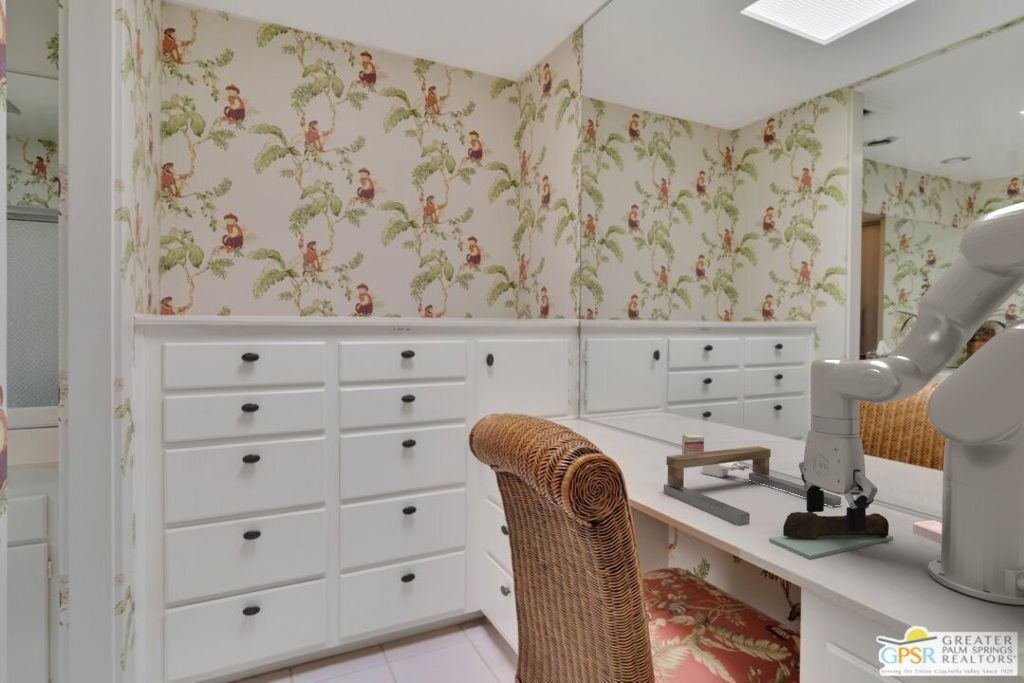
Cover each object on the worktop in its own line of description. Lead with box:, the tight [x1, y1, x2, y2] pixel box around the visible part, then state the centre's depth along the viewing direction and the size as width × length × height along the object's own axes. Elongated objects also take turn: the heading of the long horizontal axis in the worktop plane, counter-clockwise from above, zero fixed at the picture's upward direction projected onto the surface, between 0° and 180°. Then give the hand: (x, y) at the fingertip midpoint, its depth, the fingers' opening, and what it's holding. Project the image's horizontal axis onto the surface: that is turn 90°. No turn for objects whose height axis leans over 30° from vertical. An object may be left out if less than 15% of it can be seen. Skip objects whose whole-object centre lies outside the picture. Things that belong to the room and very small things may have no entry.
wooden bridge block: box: [666, 445, 772, 488], centre depth 126 cm, size 4×29×6 cm, turn 113°
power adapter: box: [701, 450, 750, 478], centre depth 136 cm, size 11×5×6 cm, turn 43°
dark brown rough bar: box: [782, 511, 890, 540], centre depth 95 cm, size 19×4×5 cm, turn 93°
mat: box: [768, 534, 894, 560], centre depth 95 cm, size 8×22×1 cm, turn 113°
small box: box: [681, 433, 705, 455], centre depth 151 cm, size 5×4×8 cm
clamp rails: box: [663, 472, 842, 526], centre depth 118 cm, size 22×30×2 cm
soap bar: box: [912, 519, 942, 544], centre depth 95 cm, size 5×9×2 cm, turn 13°
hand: (834, 520), depth 94 cm, fingers open, 9 cm apart
